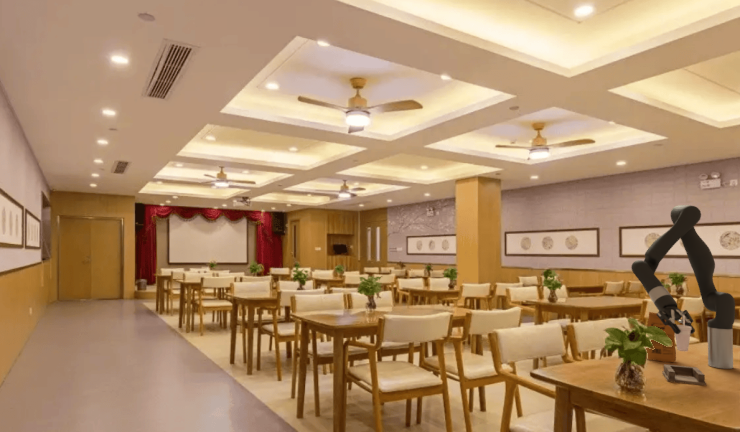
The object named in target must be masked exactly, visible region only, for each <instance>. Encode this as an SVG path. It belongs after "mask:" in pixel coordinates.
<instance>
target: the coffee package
mask: <svg viewBox="0 0 740 432" xmlns="http://www.w3.org/2000/svg"><path fill="white" fill-rule="evenodd" d="M657 313H658V312H654V311H653V312H652V311H649V312H648V322H647V323H648V324H647V327H648V326H656V327H658V328H660V329H662V330H663V331H665V332H666V334H667V335H668V337H669V338H670V339H671V340H672V342H673V346H672V347H666V346H664V345H662V344H660V343H658V342H656V341H654V340H651V342H652V344H653V346H654V348H655V349H654V350H652V349H649V348H646V347H645V351H646V350H647V353H648V359H647V360H648V361H659V362H661V363H676V360H677V351H676V345H675V342H676V337H675V332H674V331H673V330H672V328H671V327H670V326H669V325H667V326H665V325H664V324H663V322H662V321H661V320H660V319H659V317H658V316H657V315H656V314H657ZM664 320H665V319H664ZM665 322H666V320H665Z"/></svg>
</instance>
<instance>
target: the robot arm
mask: <svg viewBox="0 0 740 432" xmlns="http://www.w3.org/2000/svg"><path fill="white" fill-rule="evenodd" d="M701 217H702V213H701V209H699V207H697V206H695V205H691V204H690V205H689V204H686V205H684V204H683V205H676V206H674V207H673V208H672V209H671V211H670V219H671V222H672V224H673V225H672V226H671V227H670V228H669V229H668V230H667V231H665V233H663V234H662V235H660V236H659V237H657V238H656V239H655V241H653V242H652V243H651V244H650V246H649V247H648V249H647V250H646V251H645V253H644V260H641V259H637V260H635V261H633V263H632V264H631V267H630V268H631V272H632V273H633V274H634V275H635V277H636V278H637V280H638V281H639V282H640V283H641V284H642V287H643V288H644V290H645V292H646V293H647V295H648V296H649V298H650V300H651V301H652V303H653V304H654V306H655V307H656V309H657V310H658V312H656V313H657V314H656V315H657V316H658V317H659V319H660V320H661V321H662V322H663V324H664V325H665V326H667V325H669V326H670V327H671V328H672V330H673V331H674V332H675V333H676V334H679V333H680V332H681V331H680V329H679V328H678V326H677V325H678V324H677V323H676V322H675V321H677V322H678V323H680V324H681V325H683V315H684V316H685V325H686V326H690V327H692V330H691V332H690V335H692V334H694V333H695V331H696V329H695V328H694V326H693V325H692V323H694V319H693V318H692V316H691V314H690V313H689V311H688V310H687V309H684V310H681V309H679V307H678V303H677V301H676V300H675V298H674V297H673V296H672V295H671V293H670V292H669V291H668V289H667V288H666V287H665V286H664V284H663V283H662V282H661V281H660V279H658V277H657V276H656V274H655V273H656V271H657V269H658V267H659V265H660V263H661V261H662V260H663V259H664V258H665V256H666V255H667V254H668V253H669V251H670V250H671V249H672V248H673V247H674V246H675V245H676V244H677V242H678V241H679V240H681V243H682V245H683V248H684V251H685V253H686V256H687V259H688V262H689V264H690V266H691V268H692V271H693V274H694V276H695V277H694V278H695V279H696V282H697V285H698V290H699V293H700V298H701V301H702V303H703V305H704V308H705V309H707V310H709V311H710V312H714V313H715V317H714V318H712V319H708V320H707V365H708V366H710V367H712V368H717V369H725V370H726V369H728V370H729V369H734V348H733V347H734V344H733V343H734V342H733V341H734V339H733V338H734V337H733V331H734V329H733V325H734V324H735V316H736V315H735V314H736V302H735V298H734V297H733V295H732V294H731V293H729V292H724V291H723V292H722V291H718V290H717V289H716V286H715V284H714V279H713V277H714V273H715V268H716V262H715V260H714V256H713V253H712V251H711V249H710V248H709V246H708V244H706V242H705V241H704V240H703V239H702V238H701V236H699V234H698V232H697V231H696V228H695V225H697V224H698V223H699V222H700V220H701ZM664 319H665V320H666V322H665V320H664Z"/></svg>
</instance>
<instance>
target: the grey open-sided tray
mask: <svg viewBox="0 0 740 432" xmlns="http://www.w3.org/2000/svg"><path fill="white" fill-rule="evenodd" d="M661 374H662V376H664V379H666V380H665V381H666V382H668V383H669V382H670V383H679V384H685V385H686V384H688V385H698V386H707V382H706V381H705V380H706V379H705V374H704V373H703V372H702V371H701V369H699V368H698V367H696V366H695V367H694V366H687V365H686V366H685V365H675V364H663V371H661Z"/></svg>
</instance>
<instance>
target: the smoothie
mask: <svg viewBox="0 0 740 432" xmlns="http://www.w3.org/2000/svg"><path fill="white" fill-rule="evenodd" d="M685 323H686V321H685V316H684V315H683V324H676V325H677V326H678V328H679V329H680V331H681V332H680V333H679V334H676V333H675V342H676V349H677V351H680V352H688V351H689V347H690V338H691V334H690V332H691V330H692V327H690V326H686V325H685Z"/></svg>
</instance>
